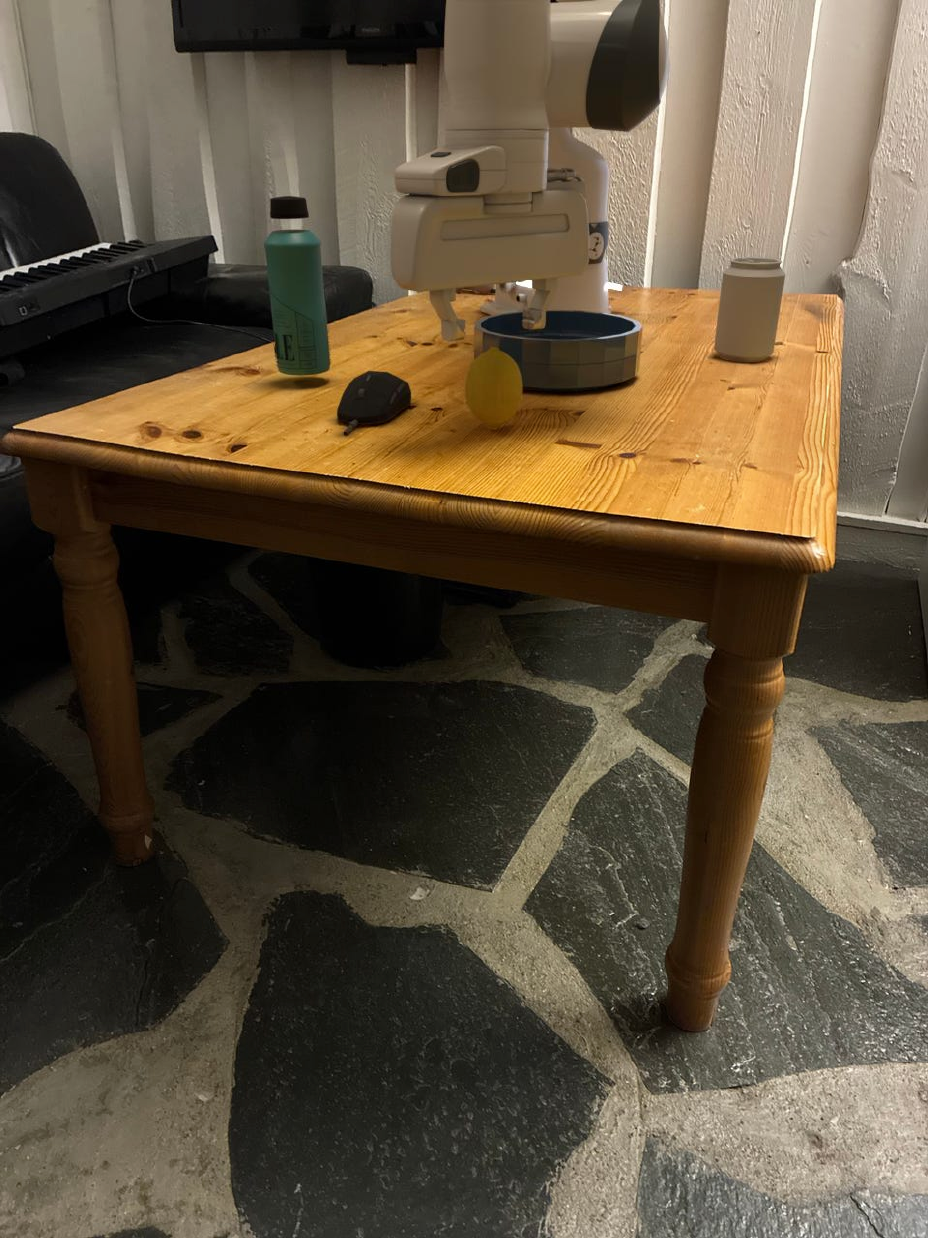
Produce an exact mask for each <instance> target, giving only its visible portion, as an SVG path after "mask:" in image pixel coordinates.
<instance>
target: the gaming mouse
mask: <svg viewBox="0 0 928 1238" xmlns="http://www.w3.org/2000/svg"><path fill="white" fill-rule="evenodd" d="M411 401H412V390H411V387H410V384H409V382H407V381H406V380H404V379H402V378H400V377H398V376H396V375H394V374H392V373H390V372H389V371H379V370H378V371H376V370H367V371H365V372H364V373H361V374H360V375H357V376H355V377H354V378H353V379H352V380H350V382H349V383H348V384H347V386H346V387H345V390H344V392H343V393H342V396H341V399H340V400H339V404H338V406H337V410H336V417H337V420H338V421H340V422H342V423H348V426H347V428H346V429H345V430H344V431H343V436H347V435H348V434H349V433H350V432H351V431H352V430H354V429H355V428H356V427H357V426H358V425H377V424H382V423H386V422H388V421H389V420H391V419H393V418H394V417H395V416H397V415H398V414H399V413H400V412H402V411H404V410H405V409H406V408H407V407H409V405H411Z"/></svg>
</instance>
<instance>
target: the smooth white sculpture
mask: <svg viewBox="0 0 928 1238" xmlns="http://www.w3.org/2000/svg"><path fill="white" fill-rule="evenodd" d="M495 287H496V284H491V285H481V286H472V287H462V288H456V293H460V292H461V291H462V290H465V289H470V290H469V291H472V292H474V294H477V295H480V294H490V293H489V292H490V291H491V290H492V289H495Z"/></svg>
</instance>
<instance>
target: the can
mask: <svg viewBox="0 0 928 1238" xmlns="http://www.w3.org/2000/svg"><path fill="white" fill-rule="evenodd" d="M729 262H730V265H729V266H728V267H726V269H725V270H724V271H722V280H721V289H720V294H719V295H720V296H719V302H718V303H719V304H718V312H717V313H718V314H717V319H716V320H717V321H716V330H715V335H714V336H715V338H714V346H713V350H714V351H715V352H716V353H717V355H718V356H719V358H721V359H723V360H726V361H731V362H737V363H739V362H740V363H755V362H756V363H758V362H762V361H765V360H767V358H769V357H770V356H771V355H773V354H774V352H775V347H776V339H777V333H778V326H779V319H780V314H781V313H780V312H781V306H782V299H783V292H784V287H785V279H786V272H785V271H784V269H783V267H781V264H783V261H782V260H781V259H778V258H772V257H762V256H761V257H760V256H759V257H758V256H756V257H755V256H746V257H745V256H744V257H743V256H742V257H734V258H731V259H730V260H729Z"/></svg>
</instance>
